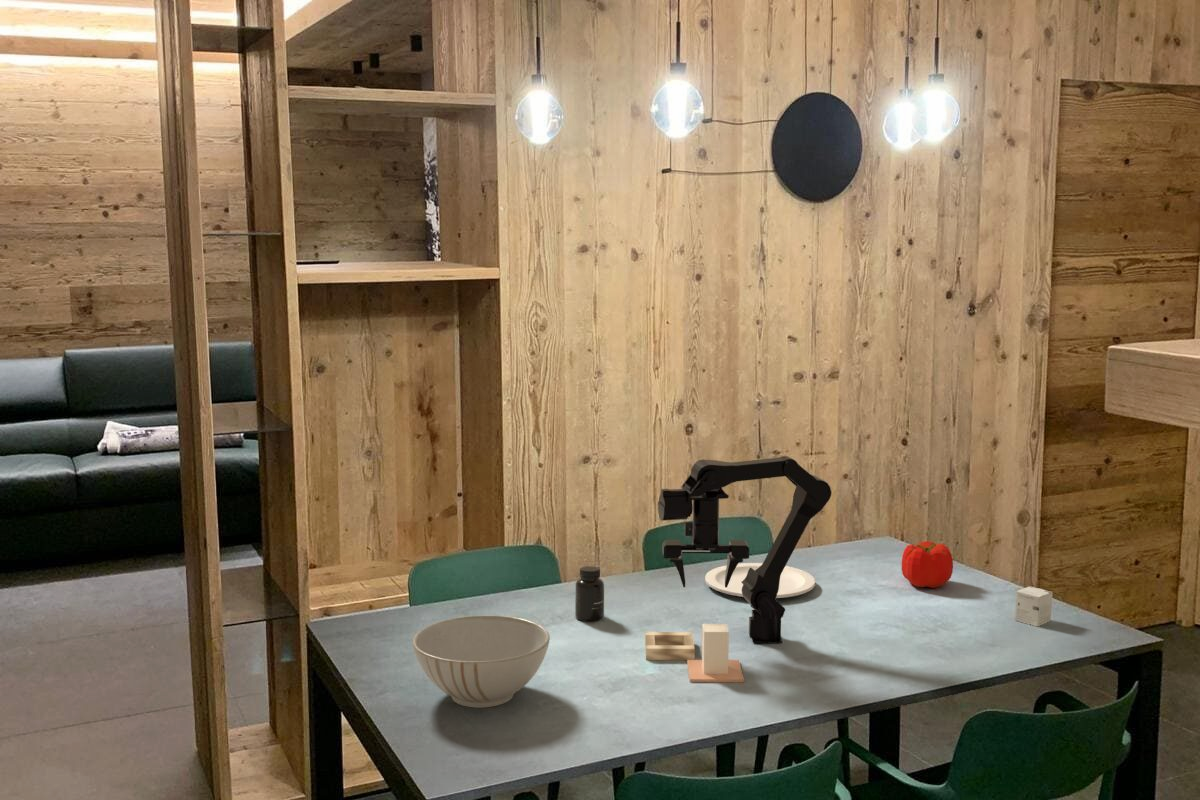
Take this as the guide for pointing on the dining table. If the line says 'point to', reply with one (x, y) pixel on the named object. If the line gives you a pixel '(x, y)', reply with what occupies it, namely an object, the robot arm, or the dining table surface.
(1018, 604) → the skincare box
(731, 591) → the plate
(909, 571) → the tomato
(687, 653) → the birch pocket holder
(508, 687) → the decorative bowl
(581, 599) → the supplement bottle
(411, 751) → the dining table surface
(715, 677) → the terracotta coaster
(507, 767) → the dining table surface
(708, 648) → the cream block
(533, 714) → the dining table surface
